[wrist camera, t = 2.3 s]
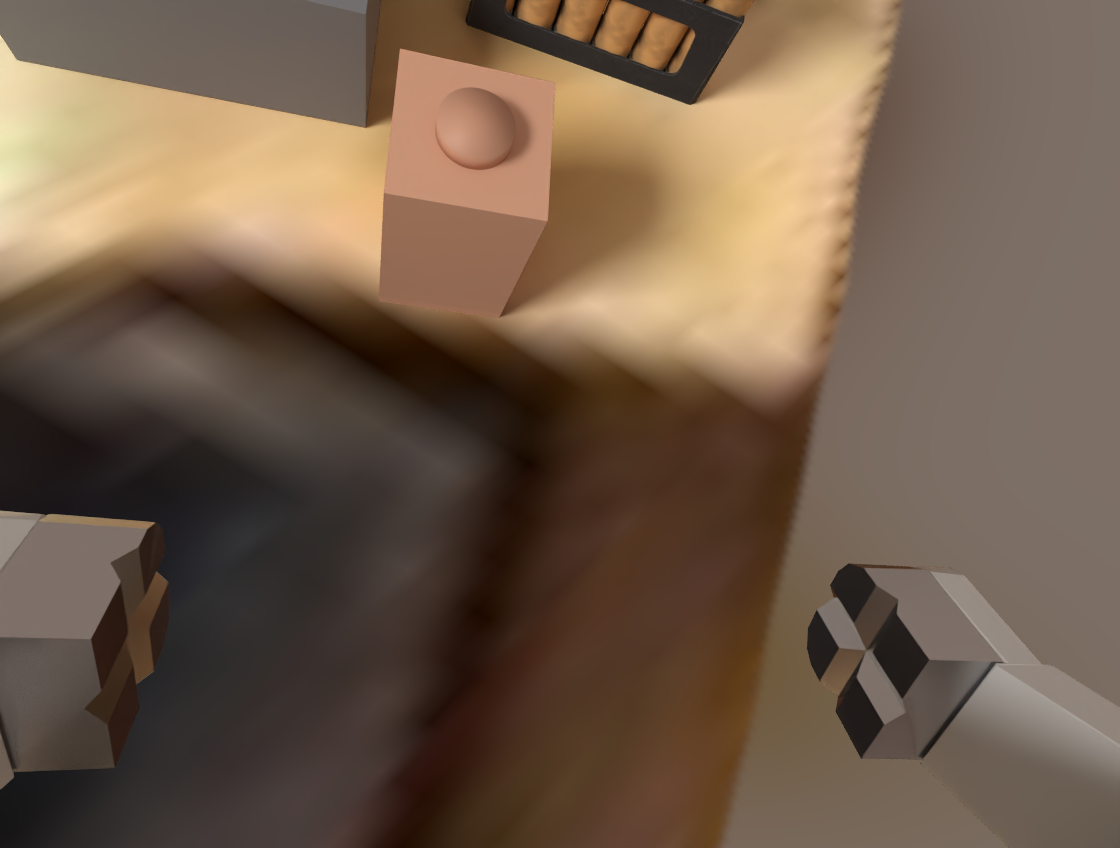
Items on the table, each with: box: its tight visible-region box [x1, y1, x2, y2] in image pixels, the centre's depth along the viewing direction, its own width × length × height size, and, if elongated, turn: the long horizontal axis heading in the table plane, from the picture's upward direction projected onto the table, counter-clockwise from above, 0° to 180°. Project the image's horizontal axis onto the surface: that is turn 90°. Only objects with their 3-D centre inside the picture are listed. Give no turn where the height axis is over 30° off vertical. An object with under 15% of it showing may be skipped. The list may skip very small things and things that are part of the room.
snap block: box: [379, 49, 555, 318], centre depth 24 cm, size 5×5×9 cm
